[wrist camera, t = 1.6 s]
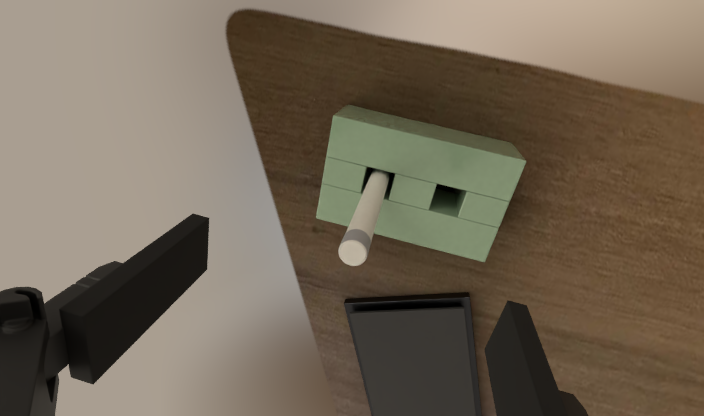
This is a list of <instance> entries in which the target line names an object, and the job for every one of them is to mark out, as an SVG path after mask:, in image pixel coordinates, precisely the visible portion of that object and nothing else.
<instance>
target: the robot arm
mask: <svg viewBox="0 0 704 416" xmlns="http://www.w3.org/2000/svg"><path fill="white" fill-rule="evenodd" d="M208 232H209V218H207V217H203V216H200V215H196V214H192V215H190V216H189V217H187V218H186V219H185V220H183V221H182V222H180V223H179V224H178V225H176V226H175V227H173V228H172V229H171V230H169V231H168V232H166V233H165V234H164V235H163V236H161V237H160V238H158V239H157V240H155V241H154V242H153V243H151V244H150V245H148V246H147V247H145V248H144V249H143V250H142V251H140V252H138V253H137V254H136V255H134V256H133V257H131V258H130V259H129V260H127V261H126V262H124V263H119V262H116V261H114V262H111V263H108V264H106V265H103V266H100V267H98V268H97V269H95V270H94V271H92V272H91V273H89V274H88V275H86V277H84V278H82V279H80V280H79V281H77V282H76V284H73V285H71V286H70V287H68V288H67V289H65V290H64V291H62V292H61V293H60V294H58V295H56V296H55V297H53V298H52V299H50V300H49V301H47V302H46V303H45V304H44V302H43V297H42V292H40V291H39V290H37V289H36V288H31V287H16V288H11V289H6V290H3V291H1V292H0V416H55V409H56V401H57V393H58V385H59V378H58V373H59V372H60V371H61V370H62V369H63V368H65V367H66V366H67V365H68V364H69V369H70V374H71V377H72V378H75V379H78V380H81V381H84V382H87V383H90V384H94V383H95V382H96V381H97V380H98V379H99V378H100V377H101V376H102V375H103V374H104V373H105V372H106V371H107V370H108V369H109V368H110V367H111V366H112V365H113V364H114V363H115V362H116V361H117V360H118V359H119V357H121V356H122V355H123V354H124V353H125V352H126V351H127V350H128V349H129V348H130V346H132V345H133V344H134V342H136V341H137V340H138V339H139V338H140V337H141V335H142V334H143V333H144V332H145V331H146V330H147V329H148V328H149V327H150V326H151V325H152V324H153V323H154V322H155V321H156V320H157V319H158V318H159V317H160V316H161V315H162V314H163V313H164V312H165V311H166V310H167V309H168V308H169V307H170V306H171V305H172V304H173V303H174V302H175V301H176V300H177V299H178V298H179V297H180V296H181V295H182V294H183V293H184V292H185V291H186V290H187V289H188V288H189V287H190V286H191V285H192V284H193V283H194V282H195V281H196V280H197V279H198V278H199V277H200V276H201V275H202V274H203V273H204V272H205V271H206V270H207V258H208ZM485 354H486V360H487V365H488V371H489V376H490V381H491V387H492V392H493V398H494V403H495V409H496V414H497V416H588V414H587V412H586V410H585V409H584V407H583V406H582V405H581V403H580V402H579V401H578V400H577V398H576V397H575V396H574V395H573V394H570V393H566V392H563V391H560V390H558V388H557V385H556V382H555V380H554V377H553V374H552V372H551V369H550V366H549V364H548V361H547V358H546V356H545V353H544V350H543V348H542V345H541V342H540V340H539V337H538V334H537V332H536V329H535V326H534V324H533V321H532V318H531V316H530V313H529V310H528V308H527V306H526V305H523V304H519V303H515V302H512V301H507V303H506V305H505V308H504V310H503V312H502V314H501V316H500V318H499V320H498V322H497V324H496V326H495V329H494V331H493V333H492V335H491V337H490V339H489V341H488V343H487V345H486V348H485Z"/></svg>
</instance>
